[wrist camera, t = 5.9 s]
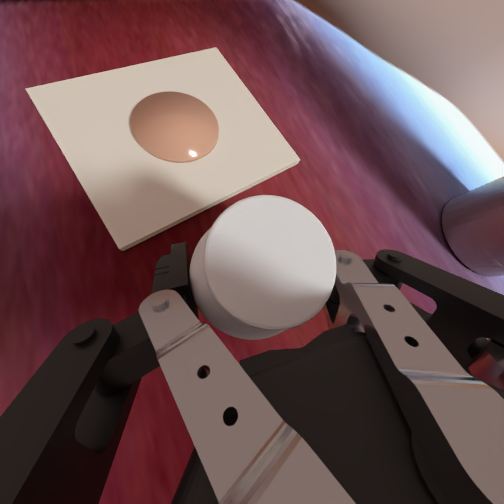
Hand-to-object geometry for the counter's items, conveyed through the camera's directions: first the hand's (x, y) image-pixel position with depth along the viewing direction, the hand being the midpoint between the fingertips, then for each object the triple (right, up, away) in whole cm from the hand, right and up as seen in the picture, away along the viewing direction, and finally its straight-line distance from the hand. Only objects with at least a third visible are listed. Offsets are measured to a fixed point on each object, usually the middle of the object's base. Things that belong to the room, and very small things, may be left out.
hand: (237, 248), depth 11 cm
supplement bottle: (0, -3, +4) cm, 5 cm away
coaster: (-6, +10, +5) cm, 13 cm away
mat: (-6, +10, +6) cm, 13 cm away
